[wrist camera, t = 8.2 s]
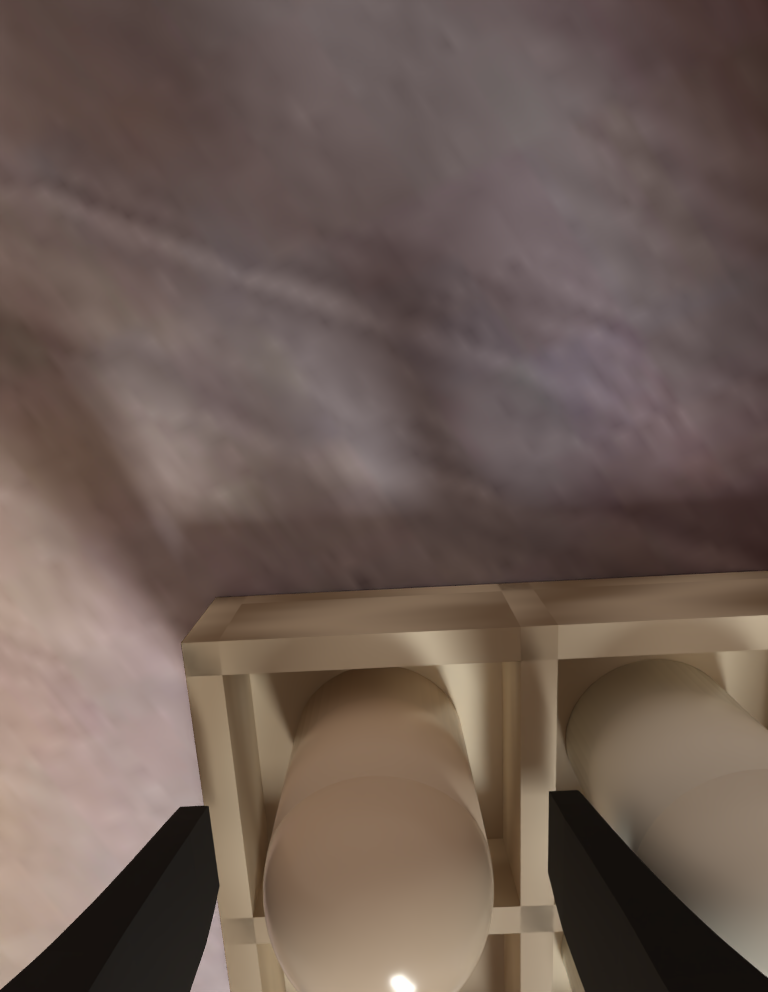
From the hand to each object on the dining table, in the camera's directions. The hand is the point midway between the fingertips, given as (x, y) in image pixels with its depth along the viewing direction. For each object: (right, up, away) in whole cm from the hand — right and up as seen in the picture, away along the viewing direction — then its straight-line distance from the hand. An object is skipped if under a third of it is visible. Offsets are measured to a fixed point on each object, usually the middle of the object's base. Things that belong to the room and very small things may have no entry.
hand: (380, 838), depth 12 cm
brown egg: (0, +1, +3) cm, 3 cm away
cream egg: (+7, +1, +3) cm, 8 cm away
